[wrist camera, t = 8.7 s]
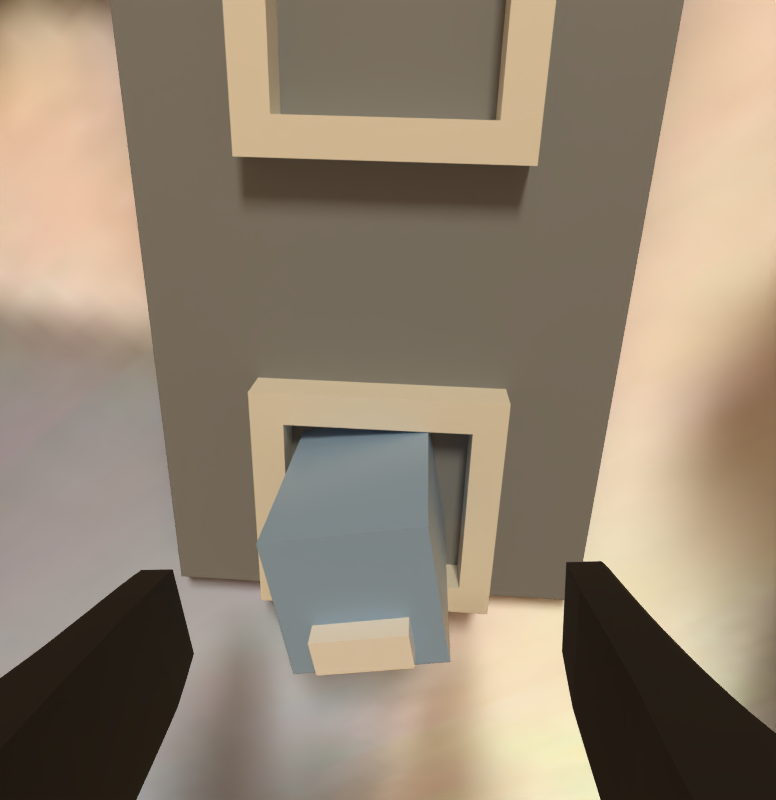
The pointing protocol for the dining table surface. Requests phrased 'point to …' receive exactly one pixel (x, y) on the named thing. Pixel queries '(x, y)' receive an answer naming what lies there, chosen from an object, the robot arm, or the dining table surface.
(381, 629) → the plug
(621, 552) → the dining table surface
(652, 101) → the panel
